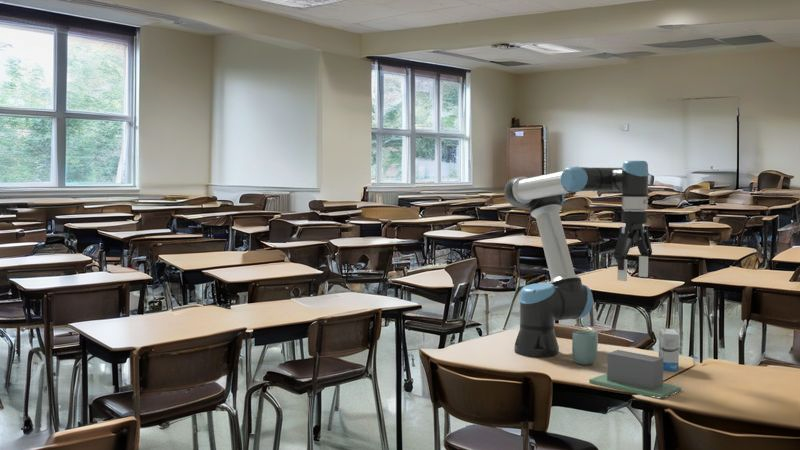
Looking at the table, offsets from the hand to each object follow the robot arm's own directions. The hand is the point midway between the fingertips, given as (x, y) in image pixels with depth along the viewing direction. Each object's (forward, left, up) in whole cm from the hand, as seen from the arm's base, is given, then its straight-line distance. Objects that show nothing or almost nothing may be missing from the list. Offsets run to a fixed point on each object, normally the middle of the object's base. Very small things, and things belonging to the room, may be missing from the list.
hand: (632, 278), depth 221 cm
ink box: (+7, +11, -29) cm, 32 cm away
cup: (-14, -4, -29) cm, 32 cm away
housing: (+10, -17, -28) cm, 34 cm away
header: (+10, -17, -29) cm, 35 cm away
